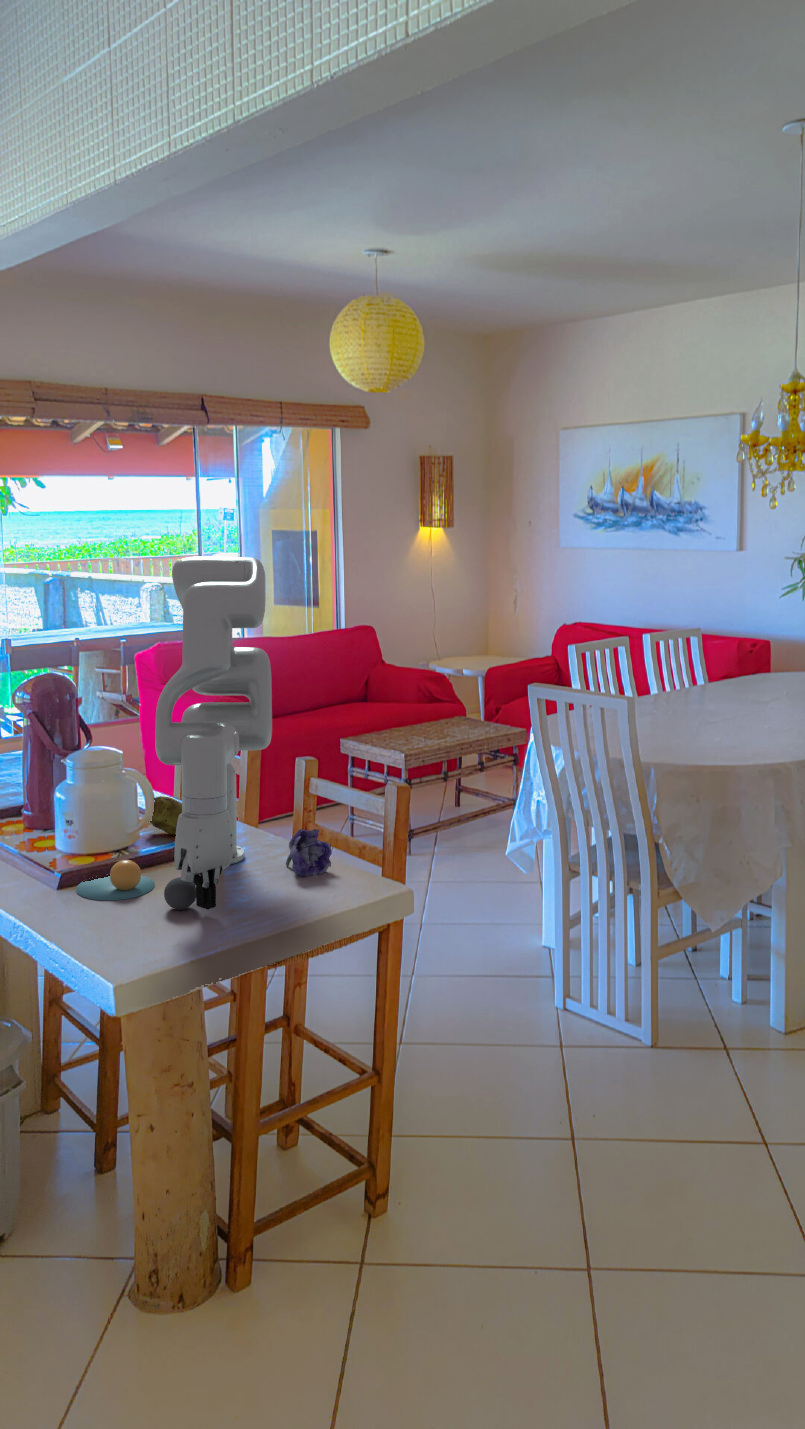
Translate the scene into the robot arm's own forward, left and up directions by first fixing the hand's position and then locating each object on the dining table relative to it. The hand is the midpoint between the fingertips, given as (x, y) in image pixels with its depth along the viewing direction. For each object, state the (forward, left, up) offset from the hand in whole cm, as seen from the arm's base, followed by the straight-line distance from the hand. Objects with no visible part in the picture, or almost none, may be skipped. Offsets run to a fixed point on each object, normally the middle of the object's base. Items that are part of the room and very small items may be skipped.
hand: (206, 906), depth 185 cm
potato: (-46, -18, -2) cm, 49 cm away
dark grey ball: (-2, -5, +1) cm, 6 cm away
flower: (-24, +13, -2) cm, 28 cm away
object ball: (-10, -18, +1) cm, 20 cm away
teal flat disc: (-12, -20, -2) cm, 23 cm away
